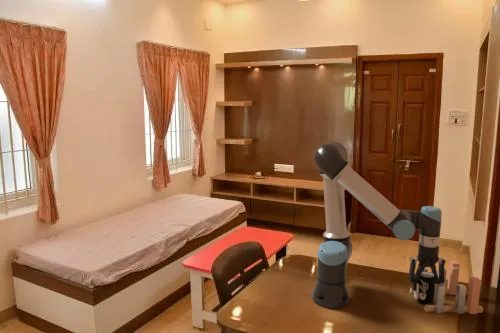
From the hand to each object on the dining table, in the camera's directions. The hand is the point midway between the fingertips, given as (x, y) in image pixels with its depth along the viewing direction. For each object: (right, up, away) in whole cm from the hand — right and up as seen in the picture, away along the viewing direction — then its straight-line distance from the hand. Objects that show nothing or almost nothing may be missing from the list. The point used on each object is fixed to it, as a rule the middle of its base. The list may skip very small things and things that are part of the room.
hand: (424, 297), depth 161 cm
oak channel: (+8, -2, 0) cm, 8 cm away
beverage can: (0, -2, 0) cm, 2 cm away
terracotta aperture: (+15, -2, 0) cm, 15 cm away
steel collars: (+6, -2, 0) cm, 6 cm away
